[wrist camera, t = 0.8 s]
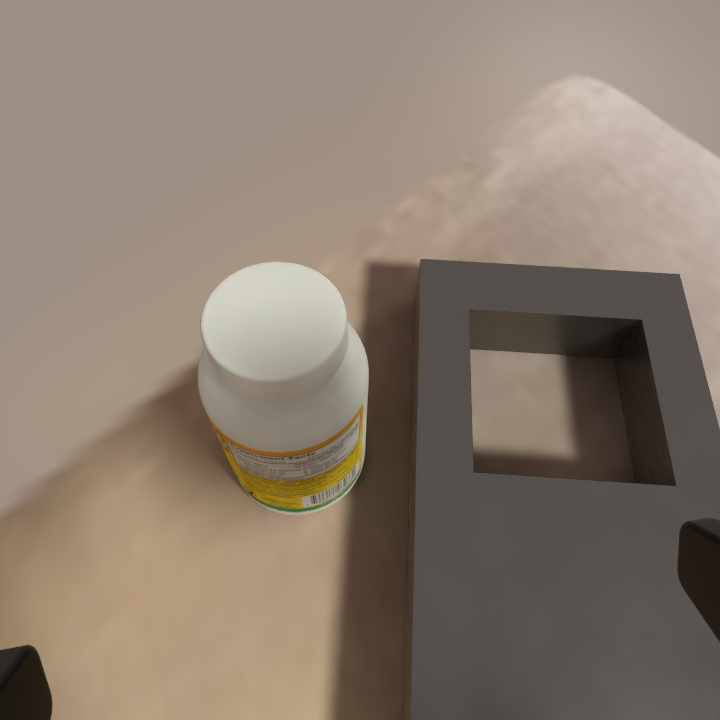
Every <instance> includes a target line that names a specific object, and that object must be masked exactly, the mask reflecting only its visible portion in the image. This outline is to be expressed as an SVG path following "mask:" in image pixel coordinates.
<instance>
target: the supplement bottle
mask: <svg viewBox="0 0 720 720" xmlns="http://www.w3.org/2000/svg"><path fill="white" fill-rule="evenodd" d="M200 323H201V335H202V340H203V343H204V346H205V347H204V349H203V352H202V354H201V357H200V361H199V366H198V388H199V394H200V397H201V401H202V404H203V406H204V409H205V411H206V414H207V416H208V418H209V420H210V423H211V425H212V427H213V429H214V431H215V433H216V435H217V437H218V439H219V441H220V443H221V446H222V448H223V450H224V452H225V454H226V456H227V458H228V460H229V462H230V465H231V467H232V469H233V471H234V473H235V475H236V477H237V478H238V480H239V482H240V484H241V486H242V487H243V489H244V490H245V492H246V493H247V494H248V495H249V496H250V497H251V499H253V500H254V501H255V502H256V503H258V504H259V505H261V506H262V507H264V508H266V509H268V510H271V511H273V512H277V513H281V514H287V515H305V514H310V513H315V512H318V511H321V510H324V509H326V508H328V507H330V506H332V505H333V504H335V503H336V502H338V501H339V500H340V499H342V498H343V497H344V496H345V495H346V494H347V493H348V492H349V491H350V490H351V488H352V487H353V486H354V484H355V482H356V481H357V479H358V477H359V475H360V473H361V470H362V467H363V463H364V458H365V446H366V422H367V400H368V384H369V367H368V360H367V355H366V352H365V349H364V346H363V344H362V342H361V340H360V338H359V336H358V334H357V333H356V331H355V330H354V329H353V327H352V326H351V325H350V324H349V323H348V322H347V314H346V308H345V305H344V302H343V299H342V297H341V295H340V293H339V292H338V290H337V289H336V287H335V286H334V285H333V284H332V283H331V282H330V281H329V280H328V279H327V278H326V277H324V276H323V275H322V274H320V273H319V272H317V271H315V270H313V269H311V268H308V267H306V266H303V265H299V264H295V263H288V262H266V263H260V264H255V265H251V266H248V267H245V268H243V269H241V270H239V271H237V272H235V273H233V274H231V275H230V276H229V277H227V278H226V279H225V280H223V281H222V282H221V283H220V284H219V285H218V286H217V287H216V288H215V289H214V290H213V292H212V293H211V294H210V296H209V298H208V299H207V301H206V303H205V305H204V308H203V312H202V316H201V321H200Z"/></svg>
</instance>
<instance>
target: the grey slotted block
mask: <svg viewBox="0 0 720 720" xmlns="http://www.w3.org/2000/svg"><path fill="white" fill-rule="evenodd" d="M470 349H481V350H497V351H513V352H529V353H545V354H560V355H576V356H592V357H608V358H615V363H616V369H617V375H618V381H619V387H620V392H621V398H622V404H623V410H624V416H625V421H626V427H627V433H628V439H629V445H630V451H631V456H632V462H633V468H634V474H635V480H636V483H622V482H607V481H593V480H578V479H563V478H548V477H534V476H519V475H504V474H490V473H475V472H474V470H473V436H472V403H471V369H470ZM703 518H714V519H718V520H720V429H719V425H718V422H717V418H716V414H715V410H714V406H713V402H712V398H711V394H710V391H709V387H708V383H707V379H706V375H705V371H704V367H703V363H702V360H701V356H700V352H699V348H698V344H697V340H696V336H695V332H694V329H693V325H692V321H691V317H690V313H689V309H688V305H687V301H686V297H685V294H684V290H683V286H682V282H681V278H680V274H667V273H650V272H633V271H616V270H599V269H582V268H565V267H548V266H531V265H514V264H497V263H480V262H463V261H447V260H430V259H421V260H420V267H419V274H418V281H417V288H416V294H415V304H414V341H413V379H412V416H411V453H410V490H409V527H408V565H407V602H406V639H405V676H404V714H403V720H720V642H719V640H718V639H717V637H716V636H715V635H714V633H713V632H712V630H711V629H710V627H709V626H708V624H707V623H706V621H705V620H704V618H703V617H702V616H701V614H700V613H699V611H698V610H697V608H696V607H695V605H694V604H693V602H692V601H691V599H690V598H689V597H688V595H687V594H686V592H685V591H684V589H683V587H682V585H681V583H680V581H679V578H678V573H677V564H678V547H679V532H680V528H681V526H682V525H683V524H684V523H685V522H687V521H693V520H698V519H703Z"/></svg>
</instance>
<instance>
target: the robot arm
mask: <svg viewBox="0 0 720 720" xmlns="http://www.w3.org/2000/svg"><path fill="white" fill-rule="evenodd" d="M677 573H678V578H679V581H680V583H681V585H682V587H683V589H684V591H685V592H686V594H687V595H688V597H689V598H690V599H691V601H692V602H693V604H694V605H695V607H696V608H697V610H698V611H699V613H700V614H701V616H702V617H703V618H704V620H705V621H706V623H707V624H708V626H709V627H710V629H711V630H712V632H713V633H714V635H715V636H716V637H717V639H718V640H719V642H720V520H718V519H714V518H703V519H698V520H693V521H687V522H685V523H684V524H683V525H682V526H681V528H680V532H679V547H678V564H677ZM51 715H52V696H51V692H50V688H49V685H48V682H47V679H46V676H45V672H44V669H43V666H42V663H41V660H40V656H39V654H38V652H37V650H36V649H35V647H33V646H30V645H25V646H20V647H14V648H9V649H4V650H0V720H51Z"/></svg>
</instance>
